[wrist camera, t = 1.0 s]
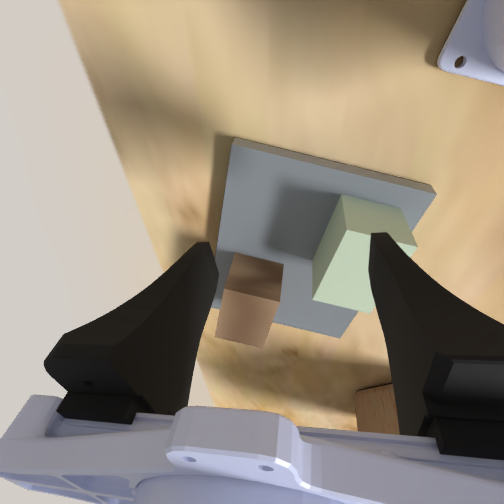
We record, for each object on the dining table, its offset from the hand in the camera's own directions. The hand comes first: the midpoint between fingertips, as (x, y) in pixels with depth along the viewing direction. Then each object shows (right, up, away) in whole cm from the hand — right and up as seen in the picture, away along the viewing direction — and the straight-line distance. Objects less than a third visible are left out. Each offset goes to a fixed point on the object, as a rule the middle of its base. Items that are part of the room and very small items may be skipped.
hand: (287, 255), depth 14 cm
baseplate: (+2, 0, +11) cm, 11 cm away
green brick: (+6, +1, +8) cm, 10 cm away
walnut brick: (-2, -3, +12) cm, 13 cm away
